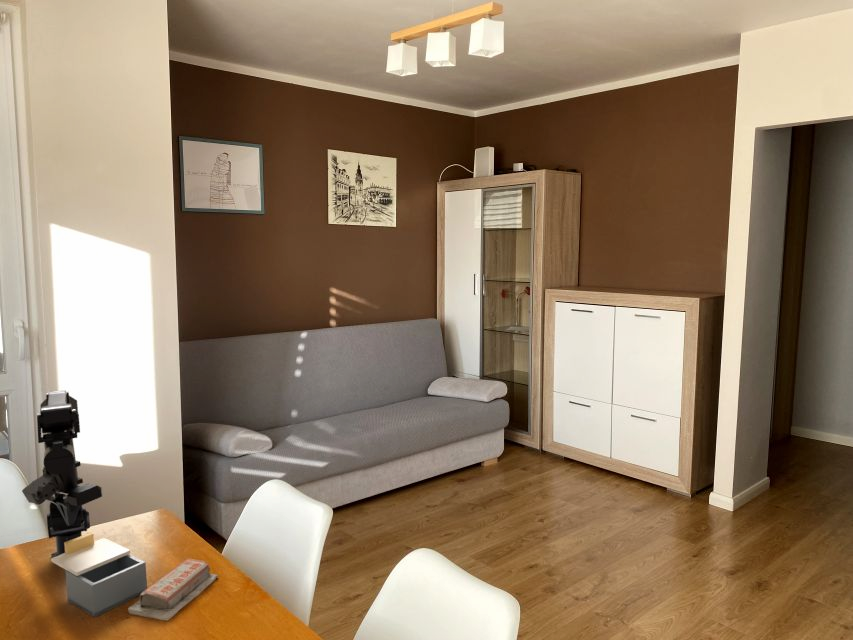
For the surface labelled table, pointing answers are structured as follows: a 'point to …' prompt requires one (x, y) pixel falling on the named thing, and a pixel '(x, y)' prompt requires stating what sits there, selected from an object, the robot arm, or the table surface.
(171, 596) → the packaged product
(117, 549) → the lid
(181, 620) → the table surface
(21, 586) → the table surface
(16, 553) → the table surface
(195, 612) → the table surface
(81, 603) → the storage box
